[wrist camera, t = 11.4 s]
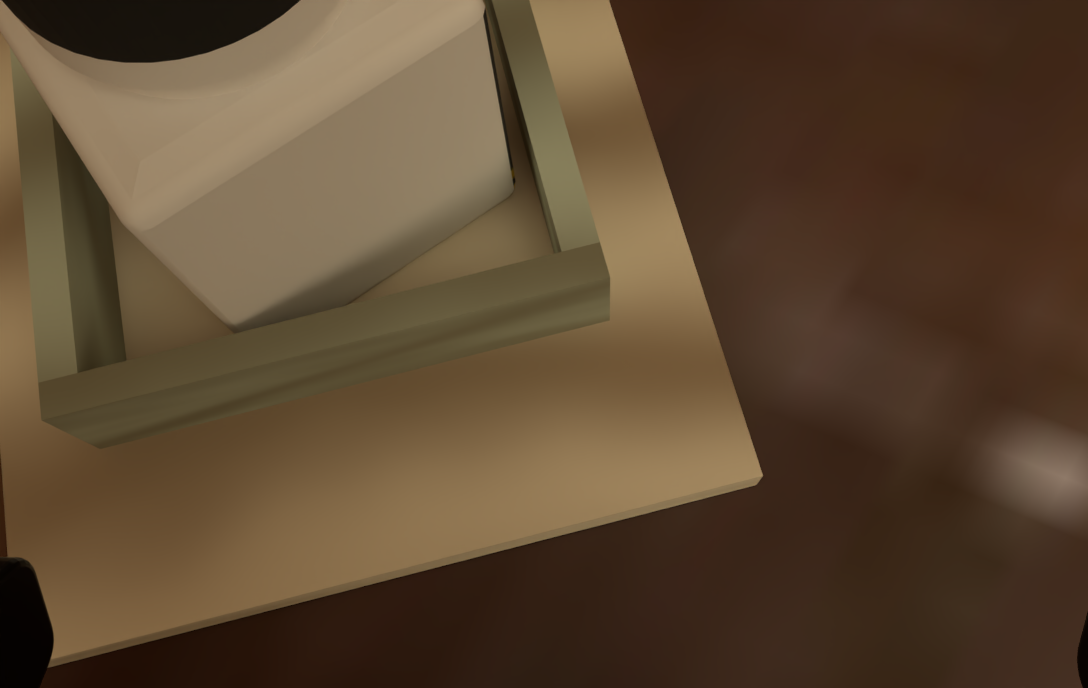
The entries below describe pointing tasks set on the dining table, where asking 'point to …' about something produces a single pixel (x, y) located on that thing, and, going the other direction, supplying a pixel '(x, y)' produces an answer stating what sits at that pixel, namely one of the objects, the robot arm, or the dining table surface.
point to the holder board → (357, 373)
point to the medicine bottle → (276, 135)
